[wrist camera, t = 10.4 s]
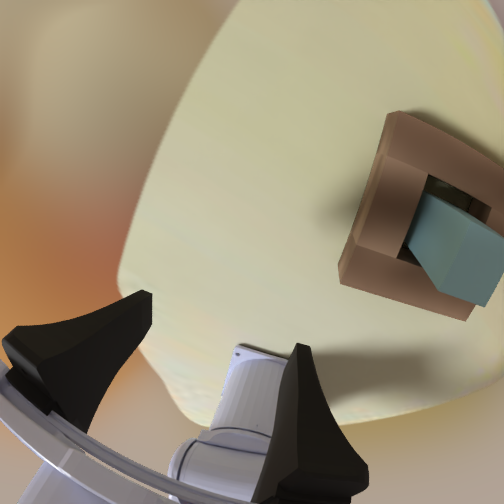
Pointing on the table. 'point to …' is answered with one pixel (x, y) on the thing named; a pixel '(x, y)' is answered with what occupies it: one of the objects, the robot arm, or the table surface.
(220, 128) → the table surface
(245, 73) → the table surface
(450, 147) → the well block
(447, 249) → the bracket post
